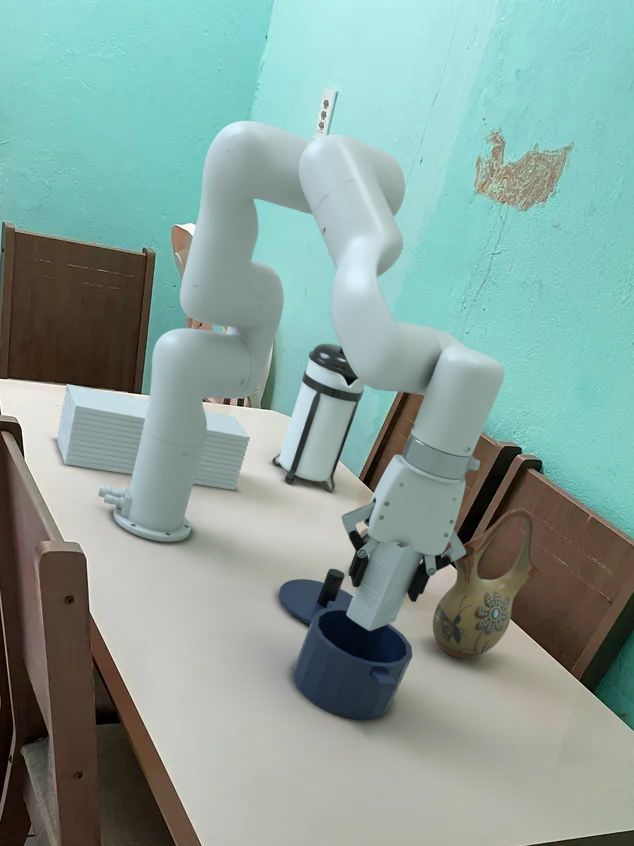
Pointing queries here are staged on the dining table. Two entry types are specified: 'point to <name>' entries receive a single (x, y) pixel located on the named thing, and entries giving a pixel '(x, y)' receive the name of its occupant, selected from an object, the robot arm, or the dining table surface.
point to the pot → (350, 664)
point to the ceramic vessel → (482, 596)
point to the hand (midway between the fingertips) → (383, 588)
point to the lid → (313, 595)
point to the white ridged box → (121, 433)
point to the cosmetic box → (384, 585)
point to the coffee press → (321, 416)
